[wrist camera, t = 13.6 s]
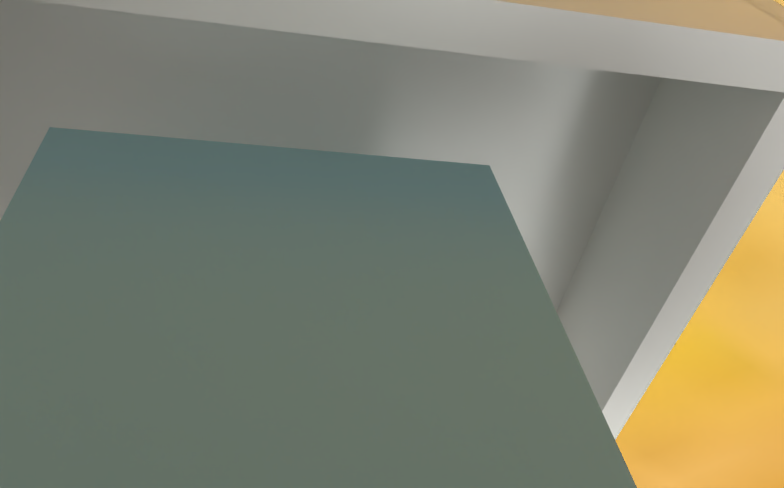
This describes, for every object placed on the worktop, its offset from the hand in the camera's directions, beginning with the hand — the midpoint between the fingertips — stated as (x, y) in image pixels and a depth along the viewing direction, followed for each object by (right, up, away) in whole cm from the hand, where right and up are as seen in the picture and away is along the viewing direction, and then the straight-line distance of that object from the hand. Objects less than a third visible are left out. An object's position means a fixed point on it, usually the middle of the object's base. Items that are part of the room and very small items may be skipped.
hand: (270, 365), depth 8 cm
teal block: (0, +1, +1) cm, 1 cm away
